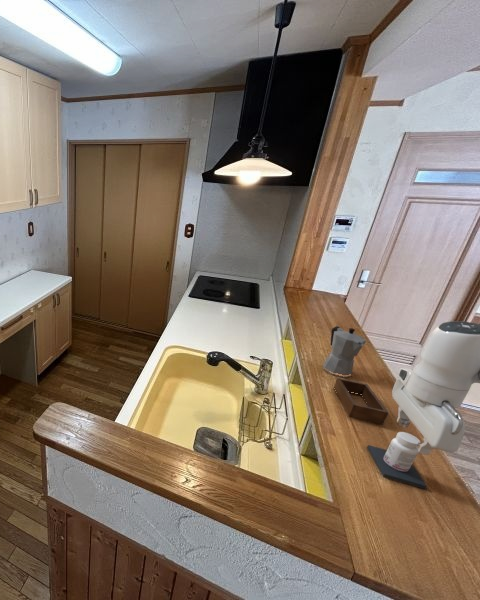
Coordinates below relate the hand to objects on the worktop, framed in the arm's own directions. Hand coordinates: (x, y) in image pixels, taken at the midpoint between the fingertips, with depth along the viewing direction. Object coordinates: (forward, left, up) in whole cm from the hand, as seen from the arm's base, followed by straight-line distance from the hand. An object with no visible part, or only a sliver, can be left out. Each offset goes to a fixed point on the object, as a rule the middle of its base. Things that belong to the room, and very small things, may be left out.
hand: (411, 437), depth 77 cm
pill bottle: (+1, 0, -9) cm, 9 cm away
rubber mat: (0, 0, -9) cm, 9 cm away
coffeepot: (0, -49, -10) cm, 50 cm away
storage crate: (0, -26, -9) cm, 27 cm away
